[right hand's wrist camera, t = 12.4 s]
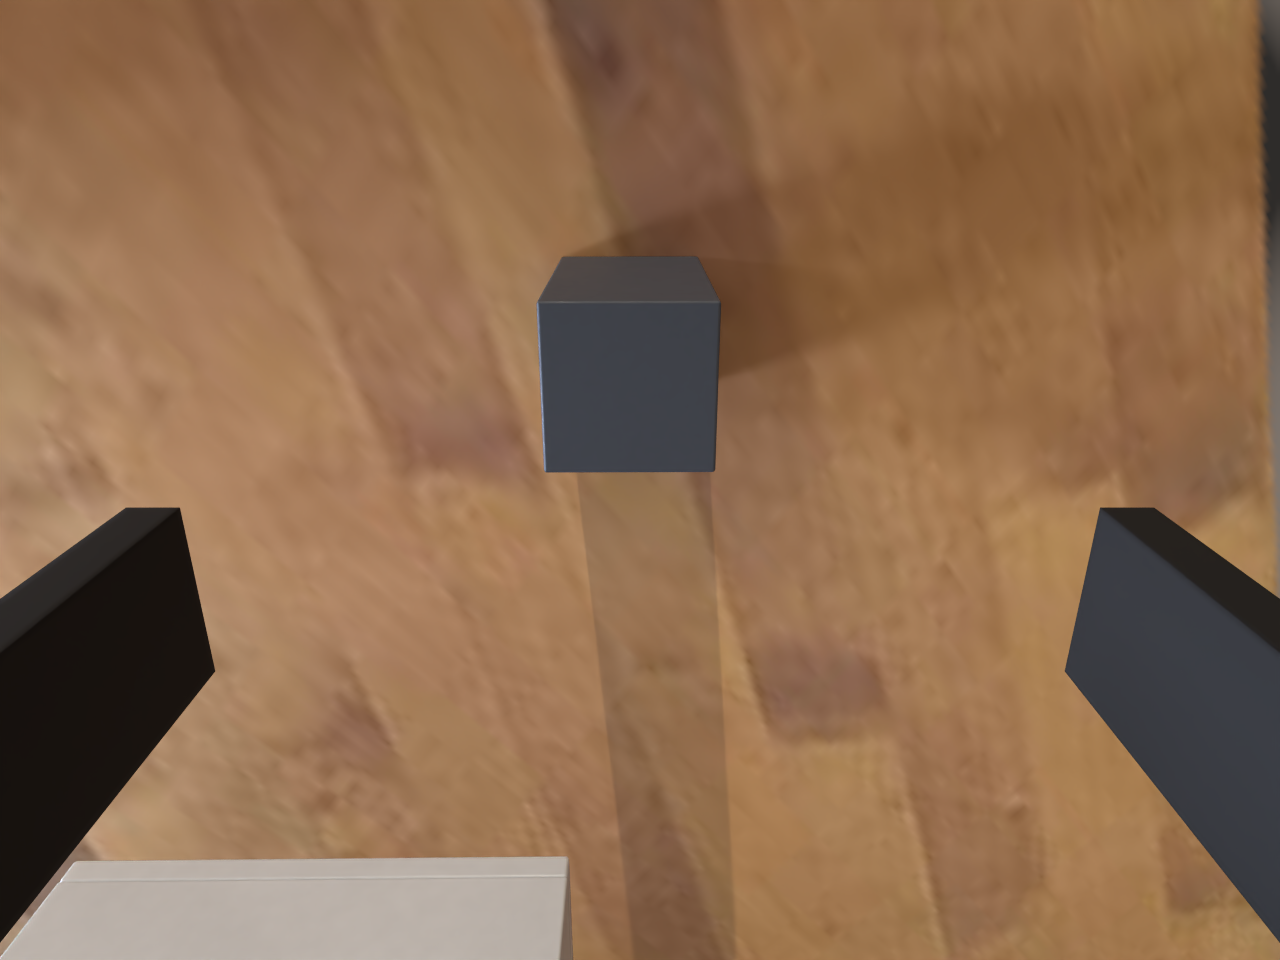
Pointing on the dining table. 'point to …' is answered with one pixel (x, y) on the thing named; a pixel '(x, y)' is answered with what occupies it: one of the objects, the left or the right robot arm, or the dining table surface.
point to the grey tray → (305, 910)
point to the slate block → (629, 365)
